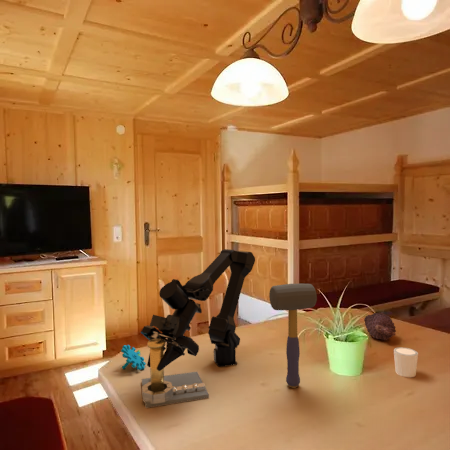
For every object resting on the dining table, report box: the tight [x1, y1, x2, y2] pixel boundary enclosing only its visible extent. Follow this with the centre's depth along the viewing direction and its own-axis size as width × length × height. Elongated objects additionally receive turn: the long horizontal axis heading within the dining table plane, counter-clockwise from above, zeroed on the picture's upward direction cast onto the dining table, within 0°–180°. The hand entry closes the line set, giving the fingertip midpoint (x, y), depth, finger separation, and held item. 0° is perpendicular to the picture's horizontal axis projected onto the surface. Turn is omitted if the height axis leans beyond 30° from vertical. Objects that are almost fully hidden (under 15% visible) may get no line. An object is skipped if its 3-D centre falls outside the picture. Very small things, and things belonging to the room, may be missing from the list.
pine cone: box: [363, 312, 397, 341], centre depth 147 cm, size 18×10×10 cm, turn 10°
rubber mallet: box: [268, 283, 318, 388], centre depth 108 cm, size 12×8×30 cm, turn 103°
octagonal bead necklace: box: [141, 375, 207, 404], centre depth 106 cm, size 17×15×2 cm
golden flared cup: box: [147, 339, 167, 392], centre depth 101 cm, size 5×5×14 cm
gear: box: [120, 344, 147, 371], centre depth 122 cm, size 11×6×10 cm
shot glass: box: [393, 347, 419, 378], centre depth 116 cm, size 7×7×7 cm
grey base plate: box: [141, 371, 210, 409], centre depth 107 cm, size 17×15×1 cm
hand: (153, 368), depth 100 cm, fingers closed on golden flared cup, 4 cm apart
